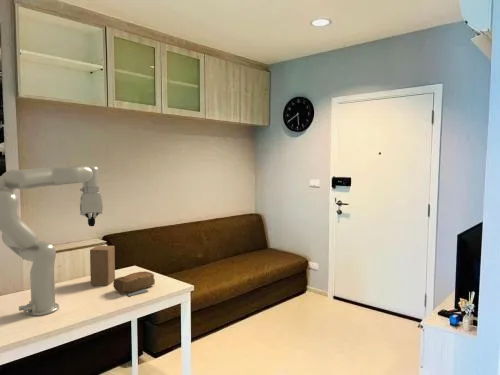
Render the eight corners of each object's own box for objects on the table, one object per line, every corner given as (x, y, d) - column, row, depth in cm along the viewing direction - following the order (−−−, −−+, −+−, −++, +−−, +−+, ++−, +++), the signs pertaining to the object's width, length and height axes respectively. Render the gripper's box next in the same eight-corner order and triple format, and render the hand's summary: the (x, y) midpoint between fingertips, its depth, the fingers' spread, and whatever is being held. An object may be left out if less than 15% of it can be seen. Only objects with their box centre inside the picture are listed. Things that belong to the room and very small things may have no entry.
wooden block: (108, 285, 200) (107, 249, 199) (90, 285, 200) (89, 249, 199) (115, 279, 210) (114, 245, 209) (98, 279, 210) (97, 245, 209)
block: (124, 295, 184) (156, 285, 200) (123, 280, 184) (156, 272, 200) (112, 291, 191) (144, 282, 207) (111, 276, 191) (144, 269, 207)
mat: (129, 296, 185) (129, 295, 184) (117, 289, 195) (117, 288, 195) (148, 291, 192) (148, 290, 192) (136, 285, 202) (136, 284, 202)
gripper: (78, 191, 178) (78, 228, 179) (108, 190, 188) (108, 225, 190) (72, 190, 183) (73, 226, 185) (102, 189, 194) (103, 223, 195)
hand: (91, 225), depth 187 cm, fingers closed
